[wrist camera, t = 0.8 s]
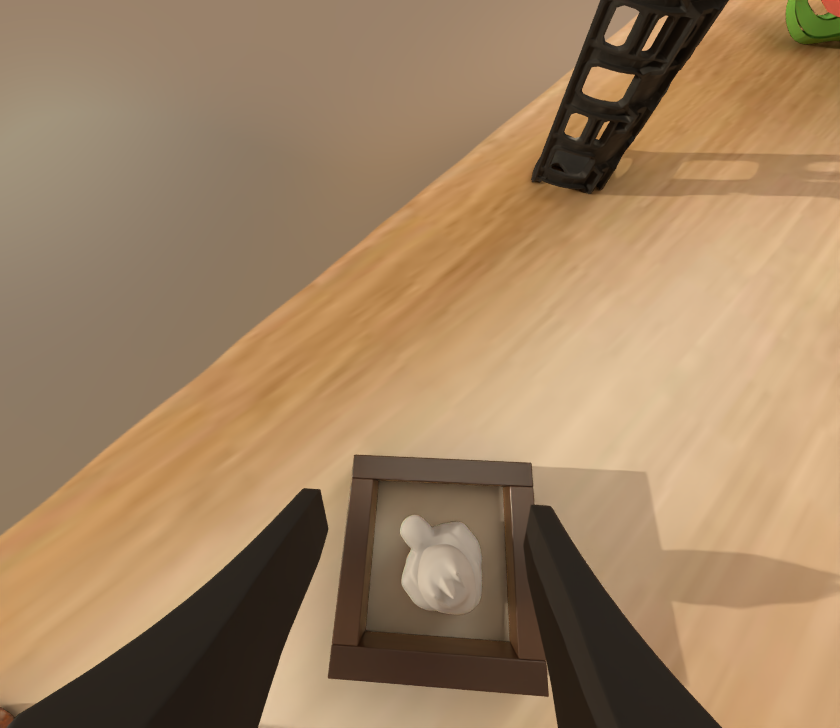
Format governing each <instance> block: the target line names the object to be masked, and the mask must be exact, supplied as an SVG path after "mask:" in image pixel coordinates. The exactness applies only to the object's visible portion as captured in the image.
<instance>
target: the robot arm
mask: <svg viewBox="0 0 840 728" xmlns="http://www.w3.org/2000/svg"><path fill="white" fill-rule="evenodd" d="M327 533H328V524H327V519H326V514H325V510H324V505H323V500H322V495H321V490H320V489H307V488H304V489H302V490H301V491H300V492H299V493H298V494H297V495H296V496H295V498H294V499H293V500H292V501H291V502H290V503H289V504H288V505H287V506H286V507H285V508H284V509H283V510H282V511H281V512H280V513H279V514H278V515H277V516H276V518H275V519H274V520H273V521H272V522H271V523H270V524H269V525H268V526H267V527H266V528H265V529H264V530H263V531H262V532H261V533H260V534H259V535H258V536H257V537H256V538H255V539H254V540H253V541H252V542H251V543H250V544H249V545H248V546H247V547H246V548H245V549H244V550H242V551H241V552H240V553H239V554H238V555H237V556H236V557H235V558H234V559H233V560H232V561H231V562H230V563H228V564H227V565H226V566H225V567H224V568H223V569H222V570H221V571H220V572H219V573H217V574H216V575H215V576H214V577H213V578H212V579H211V580H210V581H208V582H207V583H206V584H205V585H204V586H202V587H201V588H200V589H199V590H198V591H196V592H195V593H194V594H193V595H192V596H190V597H189V598H188V599H187V600H186V601H184V602H183V603H182V604H180V605H179V606H178V607H177V608H175V609H174V610H173V611H171V612H170V613H169V614H168V615H166V616H165V617H164V618H162V619H161V620H160V621H158V622H157V623H156V624H154V625H153V626H152V627H151V628H149V629H148V630H146V631H145V632H144V633H142V634H141V635H140V636H138V637H137V638H135V639H134V640H132V641H131V642H130V643H128V644H127V645H125V646H124V647H122V648H121V649H119V650H118V651H117V652H115V653H114V654H112V655H111V656H109V657H108V658H107V659H105V660H104V661H102V662H101V663H99V664H98V665H96V666H95V667H93V668H92V669H90V670H89V671H87V672H86V673H84V674H83V675H81V676H80V677H78V678H76V679H75V680H73V681H72V682H70V683H68V684H67V685H65V686H64V687H62V688H60V689H59V690H57V691H56V692H54V693H52V694H51V695H49V696H48V697H46V698H44V699H43V700H41V701H40V702H38V703H36V704H35V705H33V706H32V707H30V708H28V709H27V710H25V711H23V712H22V713H20V714H18V715H17V716H16V717H15V718H14V719H13V721H12V722H11V723H10V724H9V725H8V726H7V727H6V728H258V725H259V722H260V719H261V716H262V712H263V709H264V706H265V703H266V700H267V696H268V693H269V690H270V687H271V684H272V681H273V678H274V675H275V672H276V669H277V666H278V662H279V659H280V656H281V653H282V650H283V648H284V645H285V643H286V640H287V637H288V635H289V632H290V630H291V627H292V625H293V623H294V620H295V618H296V615H297V613H298V611H299V608H300V606H301V603H302V601H303V599H304V596H305V594H306V591H307V589H308V587H309V584H310V582H311V579H312V577H313V575H314V572H315V570H316V567H317V565H318V562H319V560H320V556H321V553H322V550H323V547H324V543H325V540H326V536H327ZM523 547H524V556H525V564H526V571H527V578H528V583H529V588H530V592H531V597H532V601H533V605H534V610H535V614H536V618H537V623H538V627H539V631H540V635H541V640H542V644H543V648H544V653H545V657H546V661H547V666H548V671H549V676H550V681H551V686H552V692H553V699H554V705H555V712H556V718H557V724H558V728H722V727H721V726H720V725H719V724H718V723H717V722H716V721H715V720H714V718H713V717H712V716H711V715H710V714H709V713H708V712H707V711H706V710H705V709H704V708H703V707H702V706H701V704H700V703H699V702H698V701H697V700H696V699H695V698H694V697H693V696H692V695H691V694H690V693H689V691H688V690H687V689H686V688H685V687H684V686H683V685H682V684H681V683H680V682H679V681H678V679H677V678H676V677H675V676H674V675H673V674H672V673H671V671H670V670H669V669H668V668H667V667H666V666H665V664H664V663H663V662H662V661H661V660H660V659H659V657H658V656H657V655H656V654H655V653H654V652H653V650H652V649H651V648H650V647H649V646H648V644H647V643H646V642H645V641H644V639H643V638H642V637H641V636H640V635H639V633H638V632H637V631H636V630H635V628H634V627H633V626H632V625H631V623H630V622H629V621H628V619H627V618H626V617H625V616H624V614H623V613H622V612H621V610H620V609H619V608H618V606H617V605H616V604H615V602H614V601H613V600H612V598H611V597H610V596H609V594H608V593H607V592H606V590H605V589H604V587H603V586H602V585H601V583H600V582H599V580H598V579H597V578H596V576H595V575H594V573H593V572H592V570H591V569H590V567H589V566H588V564H587V563H586V561H585V560H584V559H583V557H582V556H581V554H580V552H579V551H578V549H577V548H576V546H575V545H574V543H573V542H572V540H571V538H570V537H569V535H568V534H567V532H566V530H565V529H564V527H563V525H562V524H561V522H560V520H559V519H558V517H557V515H556V513H555V512H554V510H553V508H552V507H551V506H543V505H531V507H530V512H529V517H528V523H527V528H526V533H525V539H524V544H523Z"/></svg>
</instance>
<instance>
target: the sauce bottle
mask: <svg viewBox="0 0 840 728" xmlns="http://www.w3.org/2000/svg"><path fill="white" fill-rule="evenodd" d="M13 719H14V718H13V715H12V714H10V713H9V712H8V711H5V710H4V709H3V708H1V707H0V728H6V727H7V726H8V725H9V724H10V723H11V722H12V721H13Z"/></svg>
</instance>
